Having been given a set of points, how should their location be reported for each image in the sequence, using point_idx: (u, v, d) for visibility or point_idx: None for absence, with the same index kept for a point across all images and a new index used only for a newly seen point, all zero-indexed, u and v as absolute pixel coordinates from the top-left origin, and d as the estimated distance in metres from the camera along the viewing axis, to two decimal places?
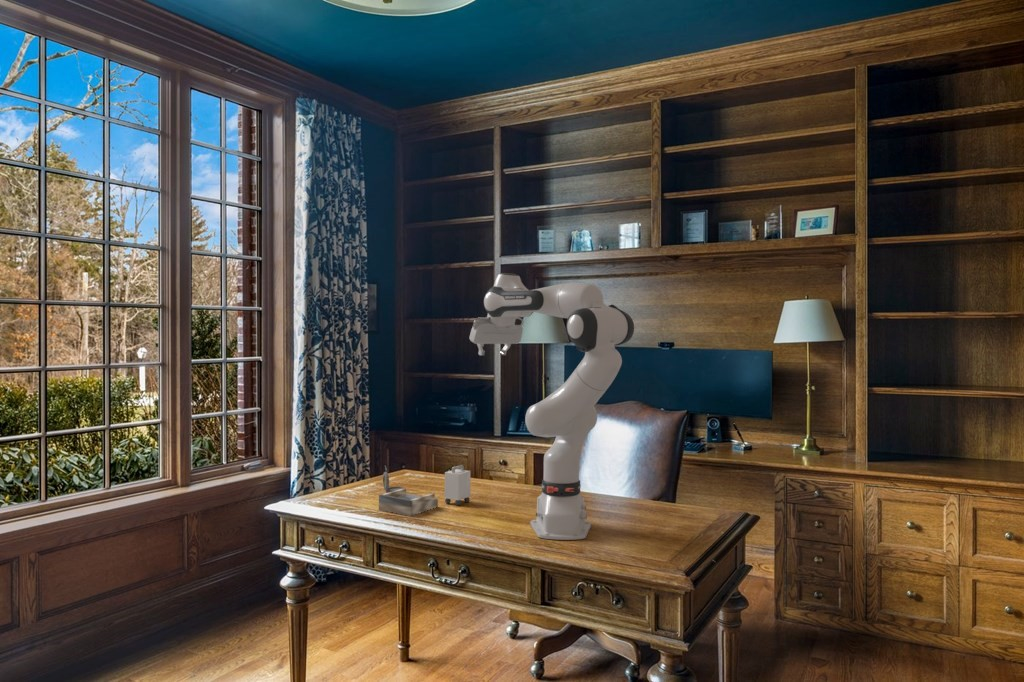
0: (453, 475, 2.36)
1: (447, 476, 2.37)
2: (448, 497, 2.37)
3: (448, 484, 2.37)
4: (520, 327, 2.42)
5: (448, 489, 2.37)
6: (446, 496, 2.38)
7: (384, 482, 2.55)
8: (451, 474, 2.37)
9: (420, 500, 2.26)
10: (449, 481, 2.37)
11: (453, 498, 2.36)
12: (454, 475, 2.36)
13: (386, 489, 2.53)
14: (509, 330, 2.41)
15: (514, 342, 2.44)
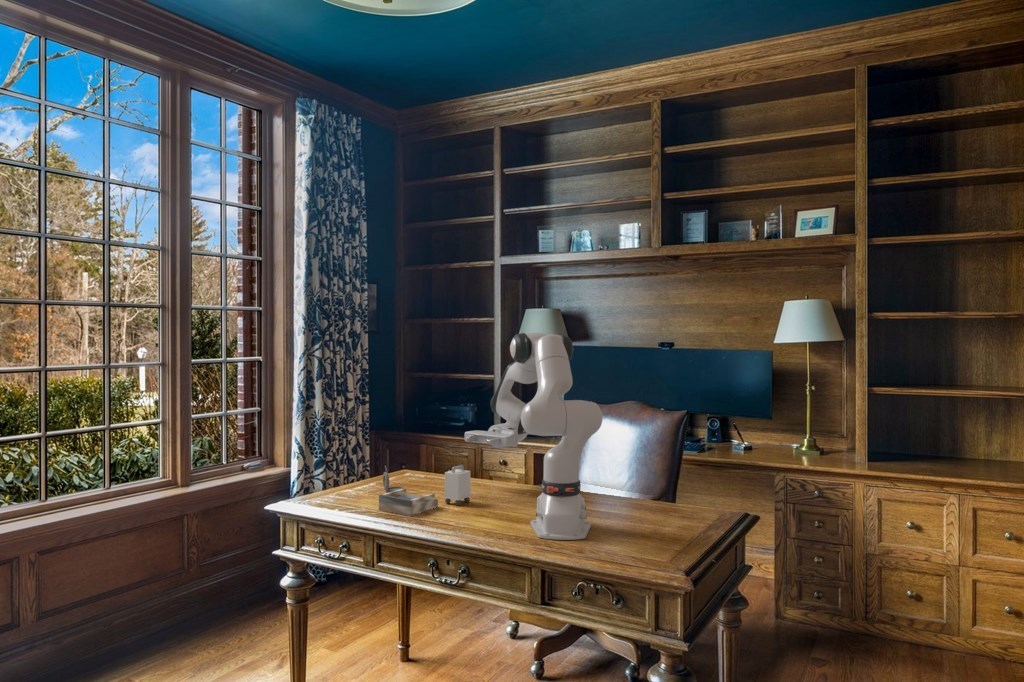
0: (453, 475, 2.36)
1: (447, 476, 2.37)
2: (448, 497, 2.37)
3: (448, 484, 2.37)
4: (512, 432, 2.55)
5: (448, 489, 2.37)
6: (446, 496, 2.38)
7: (384, 482, 2.55)
8: (451, 474, 2.37)
9: (420, 500, 2.26)
10: (449, 481, 2.37)
11: (453, 498, 2.36)
12: (454, 475, 2.36)
13: (386, 489, 2.53)
14: (502, 434, 2.55)
15: (502, 436, 2.50)
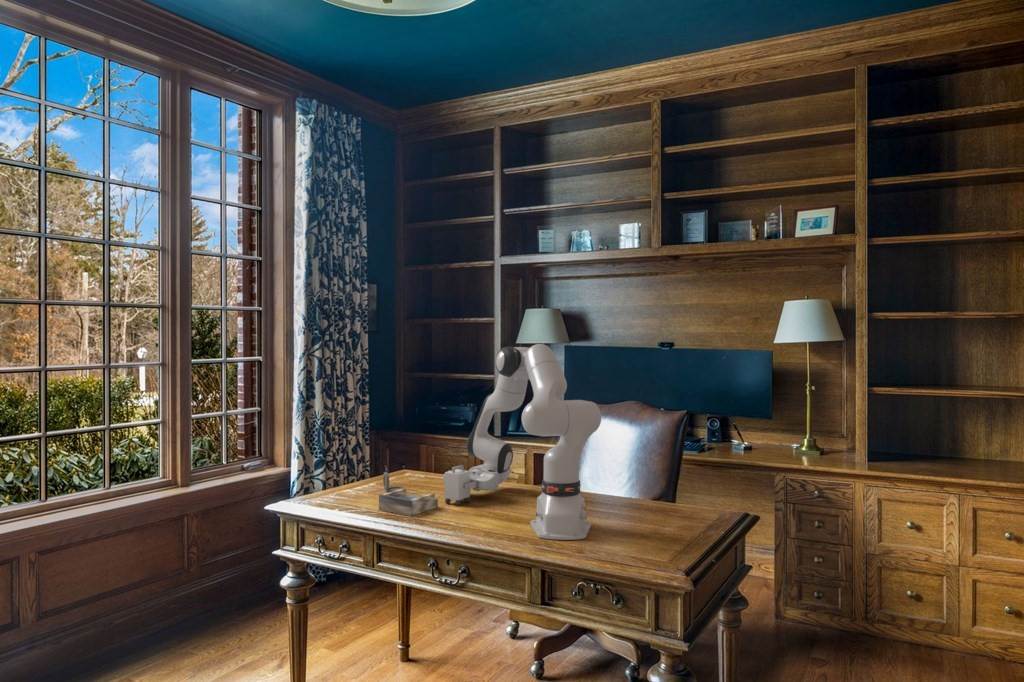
0: (453, 475, 2.36)
1: (447, 476, 2.37)
2: (448, 497, 2.37)
3: (448, 484, 2.37)
4: (493, 474, 2.44)
5: (448, 489, 2.37)
6: (446, 496, 2.38)
7: (384, 482, 2.55)
8: (451, 474, 2.37)
9: (420, 500, 2.26)
10: (449, 481, 2.37)
11: (453, 498, 2.36)
12: (454, 475, 2.36)
13: (386, 489, 2.53)
14: (481, 477, 2.45)
15: (482, 479, 2.39)
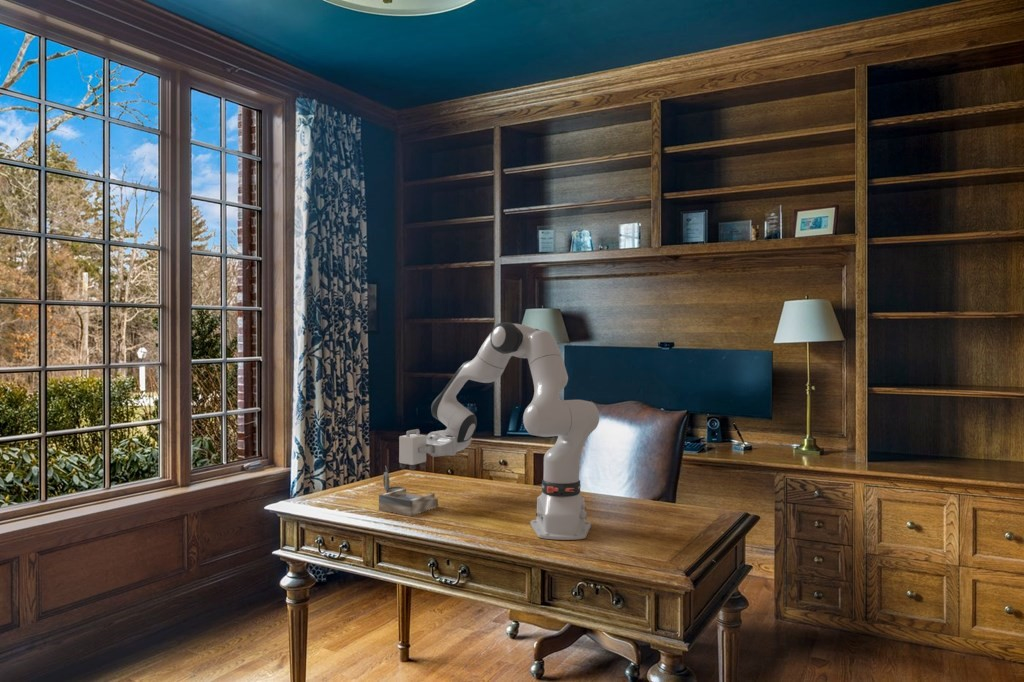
0: (407, 439, 2.29)
1: (402, 440, 2.30)
2: (403, 462, 2.30)
3: (403, 448, 2.30)
4: (450, 439, 2.36)
5: (402, 454, 2.30)
6: (401, 461, 2.30)
7: (384, 482, 2.55)
8: (405, 438, 2.29)
9: (420, 500, 2.26)
10: (404, 445, 2.29)
11: (407, 463, 2.29)
12: (408, 439, 2.28)
13: (386, 489, 2.53)
14: (438, 442, 2.37)
15: (438, 444, 2.32)
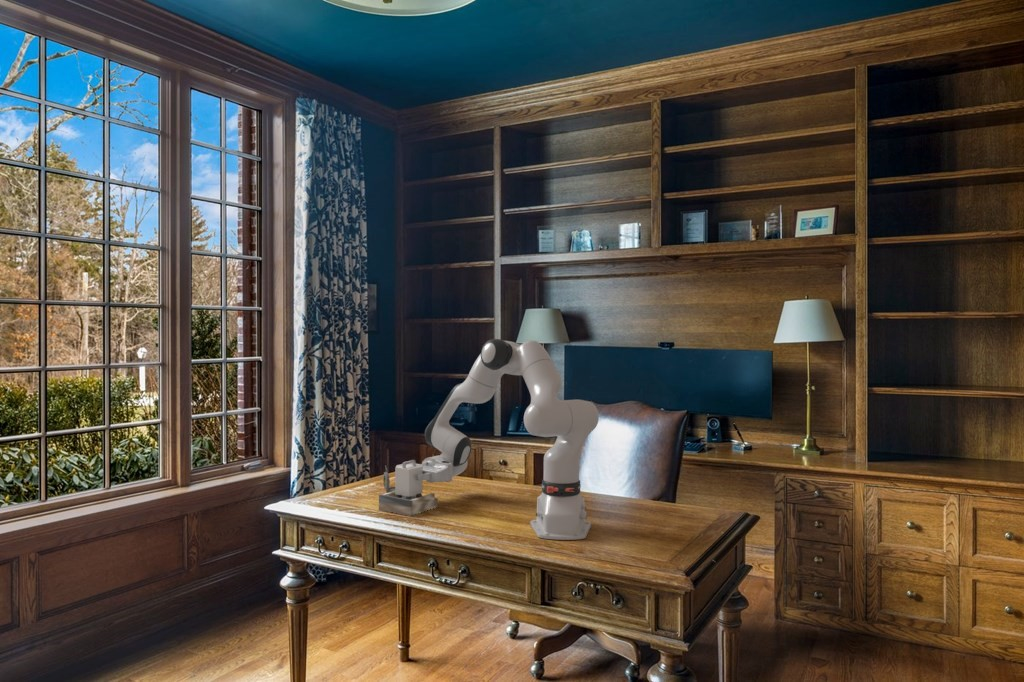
0: (404, 470, 2.28)
1: (398, 471, 2.29)
2: (399, 493, 2.29)
3: (399, 480, 2.29)
4: (446, 466, 2.36)
5: (399, 485, 2.29)
6: (397, 492, 2.29)
7: (384, 482, 2.55)
8: (402, 469, 2.28)
9: (420, 500, 2.26)
10: (400, 477, 2.29)
11: (404, 494, 2.28)
12: (405, 470, 2.28)
13: (386, 489, 2.53)
14: (435, 468, 2.36)
15: (434, 470, 2.31)
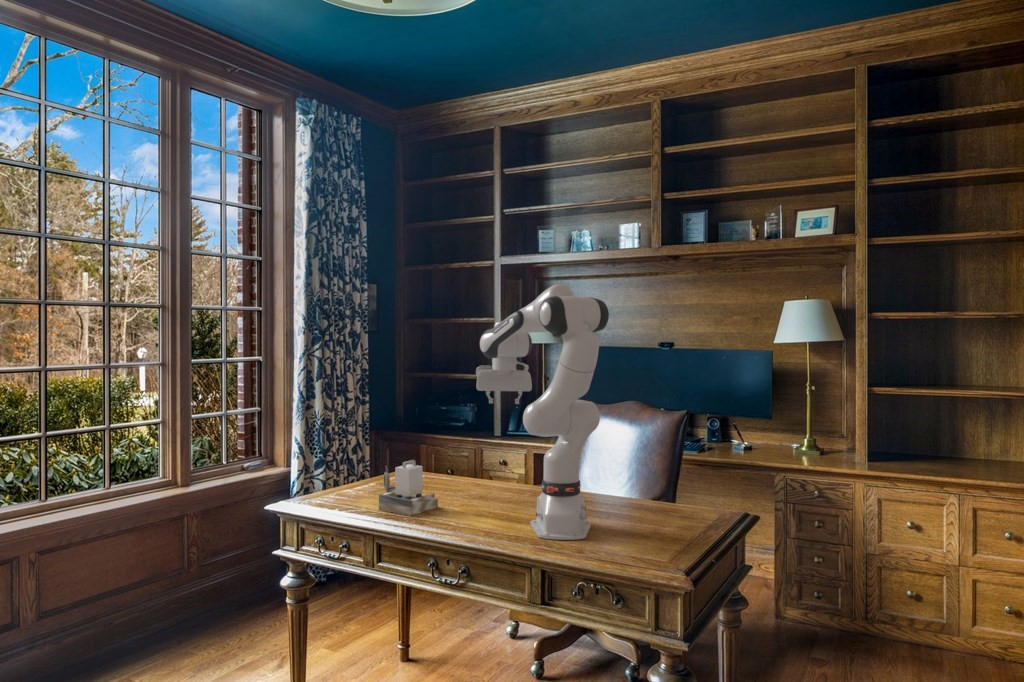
0: (404, 470, 2.28)
1: (398, 471, 2.29)
2: (399, 493, 2.29)
3: (399, 480, 2.29)
4: (526, 373, 2.45)
5: (399, 485, 2.29)
6: (397, 492, 2.29)
7: (385, 482, 2.55)
8: (402, 469, 2.28)
9: (420, 500, 2.26)
10: (400, 477, 2.29)
11: (404, 494, 2.28)
12: (405, 470, 2.28)
13: (387, 489, 2.53)
14: (515, 377, 2.47)
15: (524, 389, 2.46)
